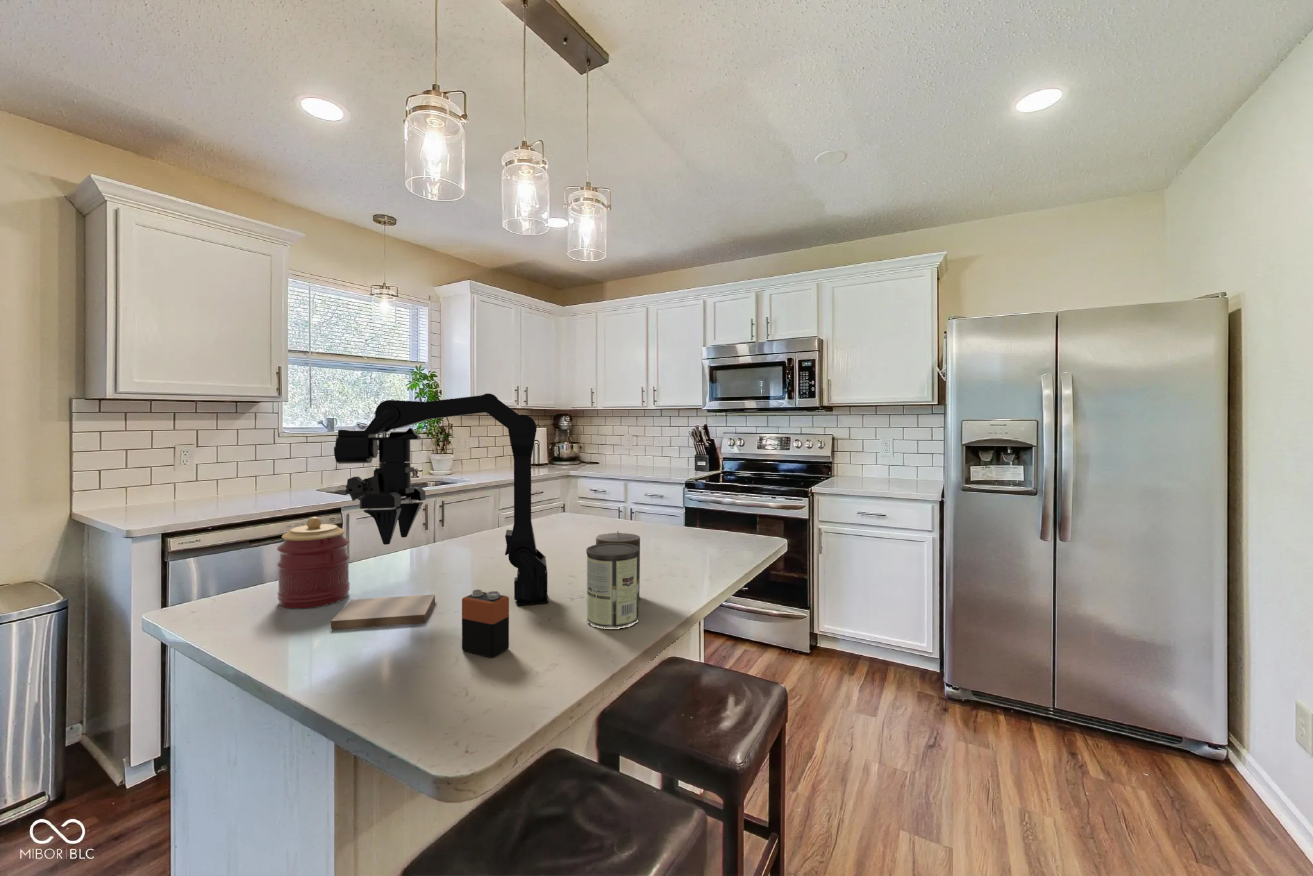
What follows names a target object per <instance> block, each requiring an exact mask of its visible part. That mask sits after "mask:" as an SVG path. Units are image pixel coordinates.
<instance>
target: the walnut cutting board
mask: <svg viewBox="0 0 1313 876" xmlns="http://www.w3.org/2000/svg"><path fill="white" fill-rule="evenodd" d="M435 602H436V594H422V595H420V594H419V595H407V596H406V595H405V596H390V597H389V596H388V597H387V596H386V597H374V598H358V599H357V598H356V599H354V598H353V599H350V600H349V601H348V602H347V603H346V605H345V606H344V607H343V608H342V609H341V610H340V611H339V612H338V613H337V614H336V615H335V616H334V617H333V618H332V619H331V620H330V629H333V630H345V628H347V629H357V628H358V629H360V628H371V627H372V626H375V627H384V626H385V627H386V626H387V625H388V626H399V625H400V626H401V625H413V624H425V623H426V621H427V619H428V617H429V615H430V614H431V611H432V609H433V607H434V605H435ZM343 628H344V629H343ZM372 628H373V627H372Z"/></svg>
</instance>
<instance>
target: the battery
mask: <svg viewBox="0 0 1313 876" xmlns="http://www.w3.org/2000/svg"><path fill="white" fill-rule="evenodd" d="M509 644H510V598H509V596H508V595H503V594H501V592H499V591H498V590H490V591H488V592H486V591H483V590H482V589H474V590H472V593H471V594H469V595H467V596H464V597H462V599H461V650H462V651H463V652H466V653H471V654H474V655H478V656H483V657H487V658H495V657H496V656H498V655H500V654H502V653H503V652H505V651H507V650H509V648H510V645H509Z"/></svg>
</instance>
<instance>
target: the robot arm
mask: <svg viewBox="0 0 1313 876" xmlns="http://www.w3.org/2000/svg"><path fill="white" fill-rule="evenodd" d="M485 413H486V414H488V415H489V416H490V417H492V418H493V419H494V420H496V421H497V422H498V423H500V424H501V425H502V426H504V427H505V428H507V430H508V431H507V432H508V436H509V442H510V447H511V451H512V455H513V526H512V529H506V530H505V536H504V538H505V543H506V547H505V552H504V556H508V561H509V564H511V565H512V566H513V567H514V568H516V569H517V570H516V571H517V574H516V576H517V577H516V576H515V577H514V580H513V590H514V591H513V592H514V593H513V594H514V595H513V596H514V597H513V598H514V600H515V601H516V602H515V603H516V606H525V605H528V606H529V605H540V604H541V605H545V604H548V603H549V597H548V569H547V568H548V566H547V559H546V557H547V556H545V555H544V554H543V553H542V552H541V551H540V550H539V549H537V543H536V537H535V533H534V532H535V531H534V527H533V521H532V458H533V457H532V456H533V450H534V446H535V440H536V434H537V428H538V427H537V424H536V421H535V420H534V419H533V418H532V417H531V416H529V415H527V414H519V413H518V412H516V411H515V410H513V409H511V407H509V406H508V405H507V404H505V403H503V402H502V401H501V400H499V398H498V397H497V396H496V395H495V394H492V393H484V394H481V395H472V396H464V397H463V396H462V397H455V398H448V399H447V398H446V399H440V400H429V401H419V400H418V401H417V400H416V401H415V400H401V399H400V400H398V399H397V400H394V399H388V400H387V399H386V400H383V401H381V402H380V403H379V404H378V405H377V406H376V408H375V411H374V418H373V419H372V420H371V421H370V423H368V425H367V426H366V428H364V430H363V429H361V430H359V429H358V430H355V429H354V430H353V429H338V430H337V437H336V438H335V439H336V440H335V446H333V455H334V460H335V462H336V463H337V464H338V465H343V464H345V465H346V464H347V465H350V464H352V465H353V464H371V463H372V462H373V459H376V458H378V467H376V468H374V470H373V476H371V477H368V478H363V479H362V478H361V477H360V476H352V477H351V478H347V481H346V485H345V491H344V493H345V494H346V495H349V496H350V498H351V501H352V502H354V501H356V500H358V501H359V509H360V510H362V509H363V512H364V513H366V514H368V515H369V516H370V517H371V518H373V519H374V521H375V524H376V526H377V530H378V533H379V536H380V539H381V541H382V544H383V545H388V546H389V545H390V544H391V541H392V539H393V536H394V533H395V530H396V528H397V523H398V527H399V528H398V529H399V534H400V537H401V538H407V537H408V536H409V534H410V532H411V528H412V526H413V524H414V522H415V520H416V519H417V518H416V517H417V516H418V514H419V511H420V509H421V507H422V505H423V504H424V502H423V501H425V500H426V490H424V489H423V488H422V487H416V486H412V485H411V483H412V479H411V477H412V476H411V475H412V473H414V472H415V467H414V466H411V465H412V463H411V441H417V440H418V441H419V440H422V437H421V436H420V435H419V434H418V433H417V432H416V431H415V430H414V428H411V427H410V426H413V425H417V424H419V423H420V424H421V423H423V422H426V421H429V420H436V419H443V418H451V417H459V416H467V415H468V416H469V415H475V414H476V415H477V414H485ZM405 427H406V428H407V427H410V428H408V429H406V431H391V430H398V429H403V428H405ZM390 431H391V432H390ZM388 432H389V435H388V436H381V437H380V436H379V437H376V435H381V434H387V433H388ZM411 486H412V487H411Z"/></svg>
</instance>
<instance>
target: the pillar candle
mask: <svg viewBox="0 0 1313 876" xmlns="http://www.w3.org/2000/svg"><path fill="white" fill-rule="evenodd" d="M603 543H626V544H632V545H635V546H637V547H639V548H640V549H641V537H640V535H638V534H634V533H627V532H625V533H624V532H619V530H617V532H611V533H603V534H597V535H596V537H595V545H596V544H603ZM640 574H641V551H640V552H639V590H640V587H641V586H640V585H641V584H640V581H641V578H640V577H641V575H640Z"/></svg>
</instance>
